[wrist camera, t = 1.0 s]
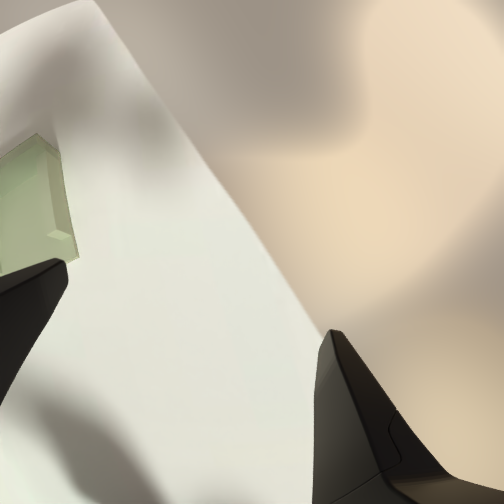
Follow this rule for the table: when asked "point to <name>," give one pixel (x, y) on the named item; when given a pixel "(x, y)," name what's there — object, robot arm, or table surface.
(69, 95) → the table surface
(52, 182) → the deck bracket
